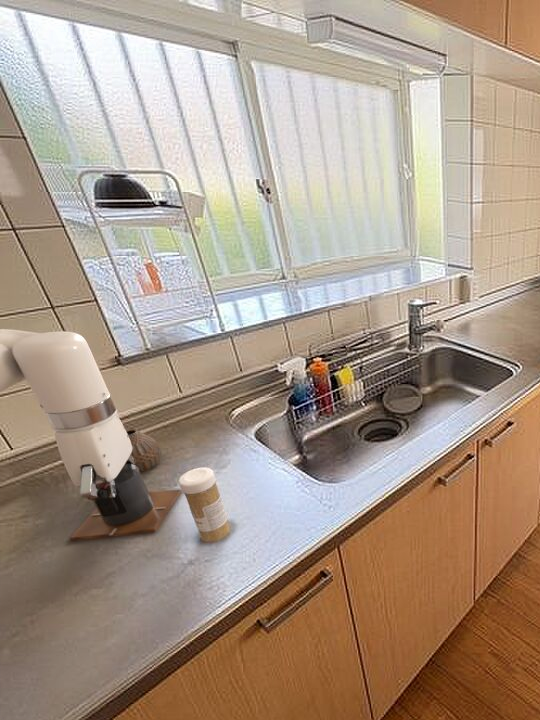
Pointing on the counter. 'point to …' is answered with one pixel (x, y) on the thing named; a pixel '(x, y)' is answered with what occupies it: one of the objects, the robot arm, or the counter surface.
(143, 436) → the vase
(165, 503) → the wooden board
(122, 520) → the knob
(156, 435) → the counter surface
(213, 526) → the sprinkles bottle
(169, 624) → the counter surface
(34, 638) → the counter surface
